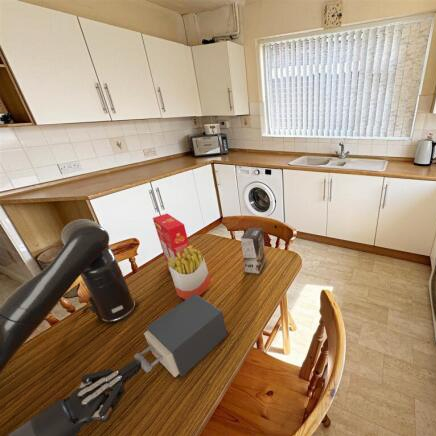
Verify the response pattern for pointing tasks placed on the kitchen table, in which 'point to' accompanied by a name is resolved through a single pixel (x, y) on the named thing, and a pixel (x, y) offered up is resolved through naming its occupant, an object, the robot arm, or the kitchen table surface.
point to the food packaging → (171, 236)
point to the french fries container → (189, 273)
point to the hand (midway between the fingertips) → (139, 363)
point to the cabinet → (190, 331)
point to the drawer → (157, 355)
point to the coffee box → (253, 250)
